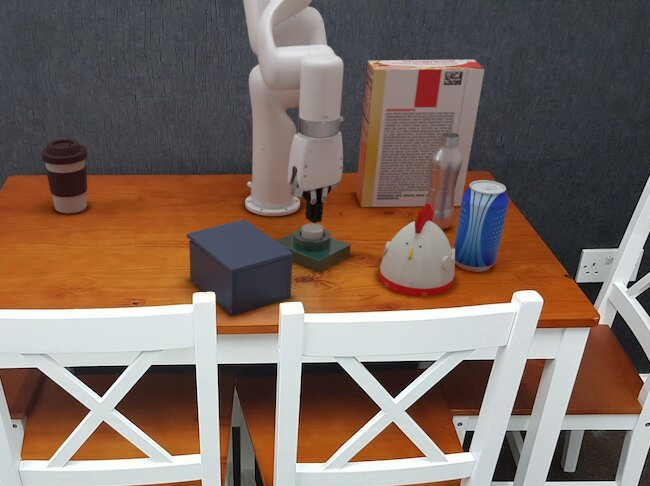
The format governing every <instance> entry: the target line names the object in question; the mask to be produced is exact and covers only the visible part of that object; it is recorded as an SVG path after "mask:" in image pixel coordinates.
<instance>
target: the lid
mask: <svg viewBox="0 0 650 486" xmlns="http://www.w3.org/2000/svg"><path fill="white" fill-rule="evenodd" d="M186 238H187V239H188V240H189V241H192V242H193V243H195V244H196V245H197V246H198V247H200V248H201V249H202V250H203V251H205V252H206V253H207V254H208V255H209V256H211V257H212V258H213V259H214V260H216V261H217V262H218V263H219V264H221V265H222V266H223V267H224V268H225V269H227V270H228V271H229V272H230V273H236V272H239V271H243V270H247V269H250V268H254V267H257V266H261V265H265V264H268V263H272V262H275V261H279V260H283V259H286V258H290V257H292V254H293V253H292V252H290V251H289V250H288V249H286V248H285V247H283V246H282V245H280V244H279V243H278V242H276V241H277V240H275V239H273V238H272V237H270V236H269V235H267V233H266V232H264V231H262V230H261V229H259V228H258V227H256V225H254V224H252V223H250V222H249V221H248V220H246V219H240V220H236V221H232V222H229V223H224V224H220V225H215V226H212V227H208V228H204V229H200V230H196V231H192V232H188V233H186Z"/></svg>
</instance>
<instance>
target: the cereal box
mask: <svg viewBox="0 0 650 486" xmlns="http://www.w3.org/2000/svg"><path fill="white" fill-rule="evenodd" d="M484 75H485V67H484V66H482V65H481V64H480V63H479V62H478V61H476V59H397V60H396V59H395V60H394V59H393V60H392V59H389V60H388V59H387V60H386V59H385V60H384V59H382V60H379V59H378V60H377V59H376V60H375V59H373V60H367V65H366V75H365V86H364V87H365V88H364V97H363V109H362V120H361V121H362V122H361V130H360V140H359V141H360V143H359V154H358V165H357V175H356V176H357V177H356V184H355V185H356V186H355V195H356V198H357V200H358V203H359V206H360V208H374V207H375V208H377V207H379V208H381V207H382V208H383V207H387V208H388V207H389V208H390V207H392V208H393V207H423V206H425V204H426V199H427V195H428V190H429V178H430V172H429V165H430V164H429V162H430V157H431V155H432V154H433V152H434V151H435V150H436V149H437V148H438V147H439V146H440V144H439V140H440V136H441V134H442V133H446V132H451V133H456V134H459V145H458V146H457V149H458V150H459V152H460V154H461V157H462V166H461V169H460V172H459V175H458V179H457V183H456V187H455V193H454V207H461V203H462V197H463V194H464V192H465V185H466V179H467V173H468V167H469V161H470V155H471V151H472V146H473V145H472V144H473V140H474V133H475V128H476V121H477V116H478V109H479V103H480V100H481V99H480V98H481V93H482V92H481V91H482V86H483V80H484Z"/></svg>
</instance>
